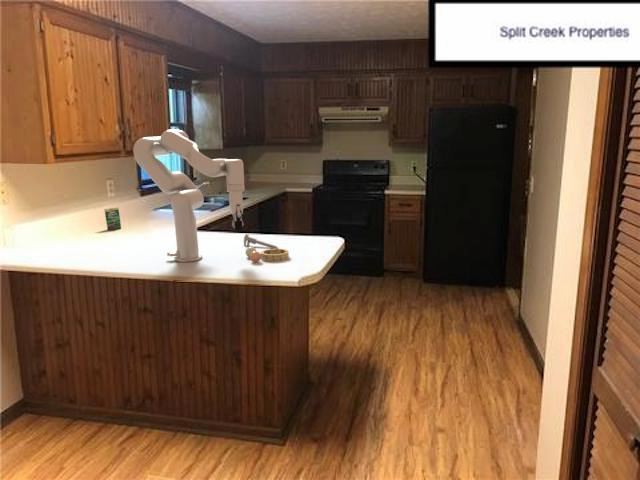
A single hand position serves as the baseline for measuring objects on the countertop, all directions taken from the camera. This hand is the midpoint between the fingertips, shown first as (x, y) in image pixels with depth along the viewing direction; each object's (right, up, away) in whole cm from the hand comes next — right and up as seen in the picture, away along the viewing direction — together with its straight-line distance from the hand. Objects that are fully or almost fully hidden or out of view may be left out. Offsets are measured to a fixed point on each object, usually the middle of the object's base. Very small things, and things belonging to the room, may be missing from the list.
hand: (237, 228), depth 228 cm
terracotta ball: (+8, -13, +1) cm, 15 cm away
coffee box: (-91, +1, +90) cm, 128 cm away
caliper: (+7, -9, +31) cm, 33 cm away
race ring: (+16, -13, +8) cm, 22 cm away
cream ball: (+4, -11, +10) cm, 15 cm away
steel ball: (0, +2, 0) cm, 2 cm away
